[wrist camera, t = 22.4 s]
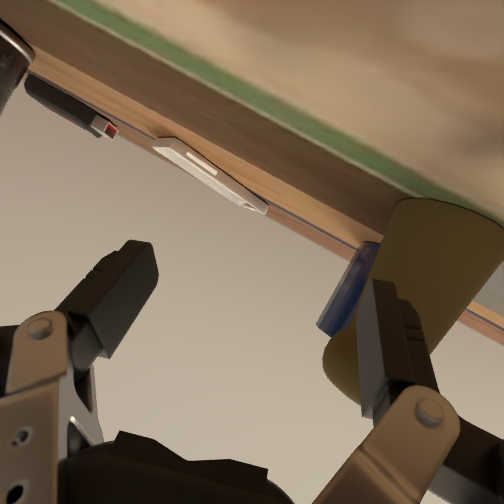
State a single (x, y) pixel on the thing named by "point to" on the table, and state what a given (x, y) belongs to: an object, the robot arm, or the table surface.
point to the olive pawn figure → (423, 275)
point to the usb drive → (69, 108)
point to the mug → (348, 290)
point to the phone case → (208, 173)
